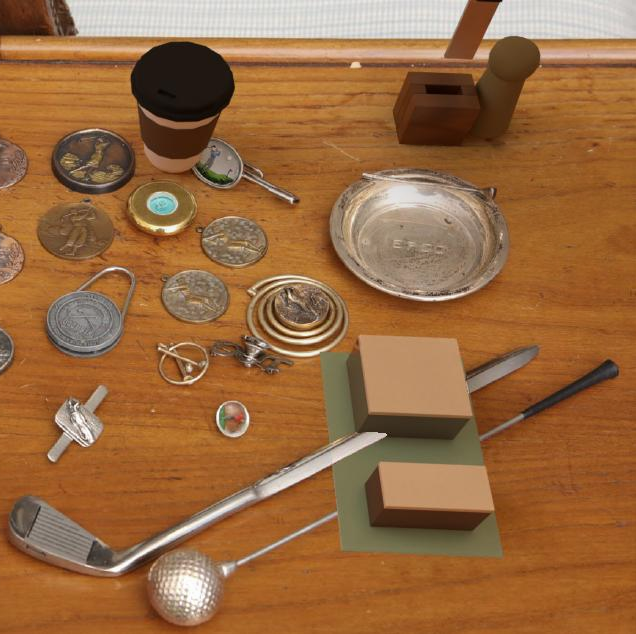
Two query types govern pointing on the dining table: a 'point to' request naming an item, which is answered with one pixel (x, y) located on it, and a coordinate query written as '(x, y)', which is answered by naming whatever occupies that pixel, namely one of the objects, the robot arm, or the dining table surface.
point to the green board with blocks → (402, 435)
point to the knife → (471, 29)
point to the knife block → (436, 108)
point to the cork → (503, 84)
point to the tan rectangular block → (428, 496)
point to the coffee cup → (180, 101)
